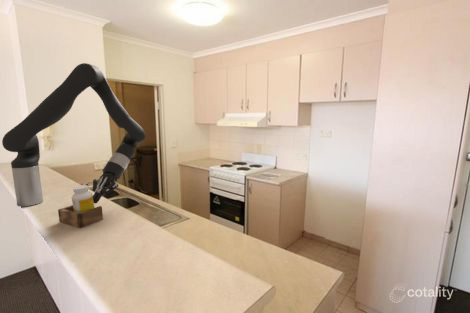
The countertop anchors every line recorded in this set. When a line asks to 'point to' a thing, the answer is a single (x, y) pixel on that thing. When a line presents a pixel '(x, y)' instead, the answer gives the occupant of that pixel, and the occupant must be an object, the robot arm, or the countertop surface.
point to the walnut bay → (79, 216)
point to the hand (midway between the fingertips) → (93, 202)
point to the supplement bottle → (82, 199)
